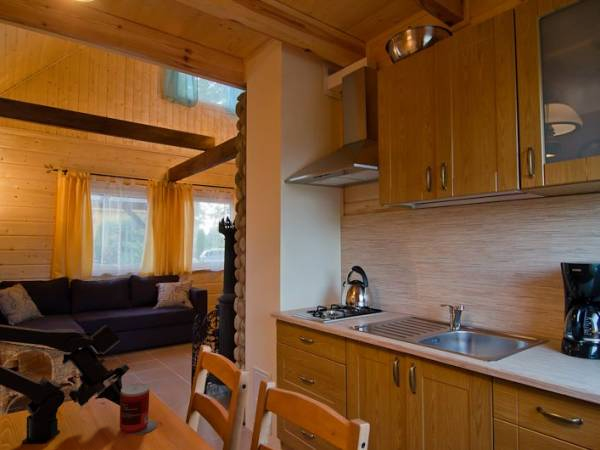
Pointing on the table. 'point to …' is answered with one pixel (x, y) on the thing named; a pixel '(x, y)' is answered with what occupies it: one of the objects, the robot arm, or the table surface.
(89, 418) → the table surface
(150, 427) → the coaster
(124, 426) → the canned food
